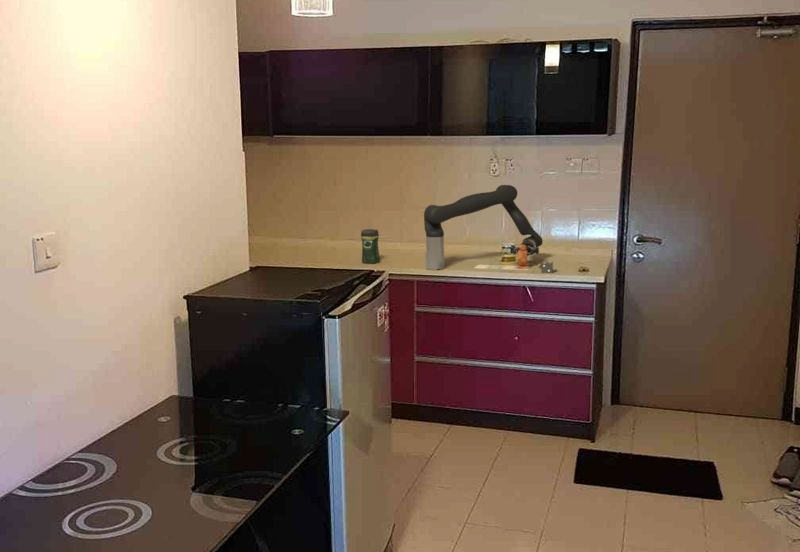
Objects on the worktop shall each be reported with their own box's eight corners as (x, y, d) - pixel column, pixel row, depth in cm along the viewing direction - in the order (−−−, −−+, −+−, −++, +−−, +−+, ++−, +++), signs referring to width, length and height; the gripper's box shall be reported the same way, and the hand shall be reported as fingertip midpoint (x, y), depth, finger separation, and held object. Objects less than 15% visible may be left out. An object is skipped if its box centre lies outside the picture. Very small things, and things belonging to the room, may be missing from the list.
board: (472, 271, 392) (472, 268, 392) (477, 266, 403) (477, 264, 403) (528, 273, 383) (528, 270, 383) (532, 268, 394) (532, 265, 394)
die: (541, 273, 384) (541, 263, 383) (542, 271, 388) (542, 261, 387) (551, 273, 382) (551, 263, 381) (552, 271, 387) (552, 261, 386)
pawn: (515, 268, 388) (515, 244, 386) (517, 266, 394) (517, 243, 391) (527, 269, 386) (527, 245, 384) (529, 266, 392) (529, 243, 389)
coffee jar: (381, 261, 426) (380, 228, 422) (376, 264, 419) (375, 230, 415) (365, 260, 429) (364, 228, 426) (360, 263, 422) (358, 230, 418)
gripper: (514, 239, 404) (508, 245, 389) (541, 240, 399) (536, 245, 384) (514, 253, 405) (508, 259, 390) (541, 254, 401) (536, 260, 386)
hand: (522, 252), depth 387 cm, fingers open, 8 cm apart
